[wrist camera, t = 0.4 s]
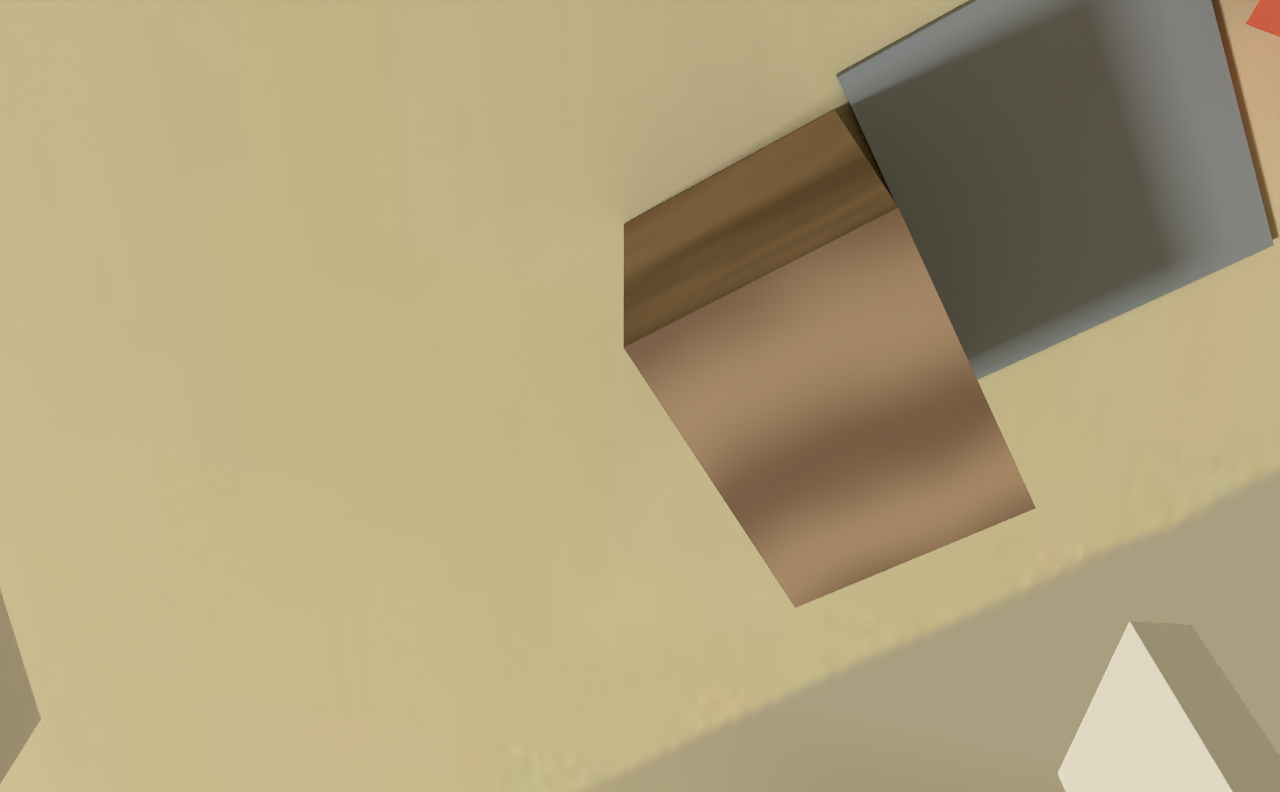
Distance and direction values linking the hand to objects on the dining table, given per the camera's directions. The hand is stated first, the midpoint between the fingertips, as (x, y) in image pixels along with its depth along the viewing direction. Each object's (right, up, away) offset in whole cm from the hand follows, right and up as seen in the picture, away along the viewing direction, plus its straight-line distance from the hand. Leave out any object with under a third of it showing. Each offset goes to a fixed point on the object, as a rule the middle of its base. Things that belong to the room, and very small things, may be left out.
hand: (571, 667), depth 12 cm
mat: (+15, +11, +22) cm, 29 cm away
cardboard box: (+6, +7, +24) cm, 26 cm away
